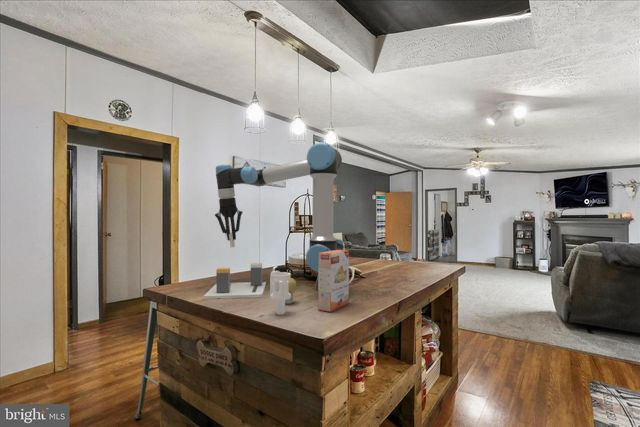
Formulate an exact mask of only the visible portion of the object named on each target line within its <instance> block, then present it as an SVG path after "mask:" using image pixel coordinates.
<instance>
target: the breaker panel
mask: <svg viewBox="0 0 640 427" xmlns="http://www.w3.org/2000/svg"><path fill="white" fill-rule="evenodd" d="M266 285H267V281H262V285H259V286H251V281H249V282H247V281H246V282H230V291H229V292H228V293H217V283H215V284H214V285H213V286H212V287H211V288H210V289H209V290H208V291H207V292H206V293H205V294H203V296H202V297H203V298H202V299H203V300H214V299H217V298H221V299H246V298H249V299H251V298H253V299H254V298H263V295H264V293H265V289H266ZM217 300H218V299H217Z"/></svg>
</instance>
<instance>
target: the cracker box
mask: <svg viewBox="0 0 640 427" xmlns="http://www.w3.org/2000/svg"><path fill="white" fill-rule="evenodd" d="M317 274H318V275H317V277H318V290H317V293H318V294H317V297H318V298H317V310H318V311H323V312H327V313H333V312H334V311H336V310H338V309H340V308H343V307H345V306H347V305H349V303H350V302H349V300H350V298H349V295H350V294H349V290H350V288H349V286H350V284H349V283H350V281H349V278H350V250H347V249H344V250H333V251H327V252H321V253H319V259H318V273H317Z"/></svg>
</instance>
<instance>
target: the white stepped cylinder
mask: <svg viewBox="0 0 640 427" xmlns="http://www.w3.org/2000/svg"><path fill="white" fill-rule="evenodd" d="M269 276H270V278H269V279H271V282H273V293H272V294H271V295H270V294H269V296H270V297H269V298H270V299H271V300H273V301H275V302H276V303H275V304H276V307H275V308H276V311H275V313H276V315H279V316H280V315H281V316H282V315H283V316H284V315H285V314H286V304H285V300H287V299H290V298H291V294H290V293H289V290H288V281H287V278H292V277H291V276H292V274H291V273H290V272H280V271H274V272H273V271H271V272H270V275H269Z"/></svg>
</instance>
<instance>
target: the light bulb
mask: <svg viewBox="0 0 640 427" xmlns="http://www.w3.org/2000/svg"><path fill="white" fill-rule="evenodd" d="M287 281H288V290H289V293H290V294H291V298H290V299H287V300H285V305H291V304H293V303H294V295H293V294H294V293H295V291H296V290H297V281H296V280H295V279H294V278H292V277H290V278H287Z"/></svg>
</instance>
